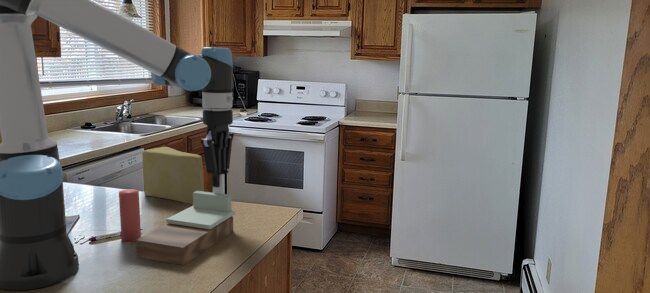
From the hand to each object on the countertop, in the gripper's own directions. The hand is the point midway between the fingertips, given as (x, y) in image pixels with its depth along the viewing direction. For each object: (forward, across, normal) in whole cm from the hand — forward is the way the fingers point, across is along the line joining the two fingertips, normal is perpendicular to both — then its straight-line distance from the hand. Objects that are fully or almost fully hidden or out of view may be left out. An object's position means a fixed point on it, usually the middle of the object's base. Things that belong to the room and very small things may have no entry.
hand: (218, 197), depth 130 cm
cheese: (+8, +15, +23) cm, 29 cm away
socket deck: (+7, -14, 0) cm, 16 cm away
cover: (+3, -9, 0) cm, 9 cm away
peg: (+7, -18, +14) cm, 24 cm away
